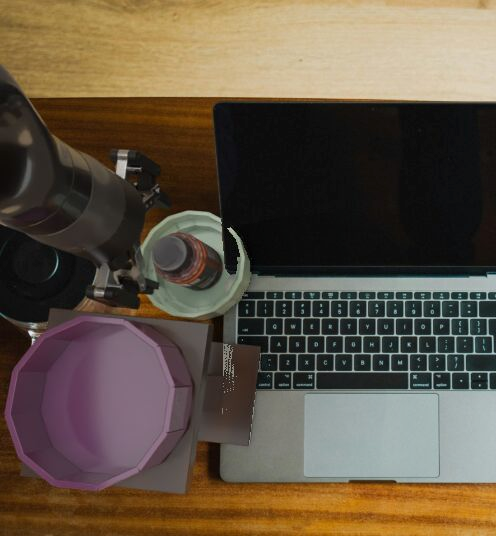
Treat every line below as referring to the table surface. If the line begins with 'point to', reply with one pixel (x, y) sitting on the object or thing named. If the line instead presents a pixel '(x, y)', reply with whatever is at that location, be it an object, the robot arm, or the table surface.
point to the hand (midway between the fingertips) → (156, 245)
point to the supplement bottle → (187, 261)
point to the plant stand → (193, 398)
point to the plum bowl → (98, 402)
